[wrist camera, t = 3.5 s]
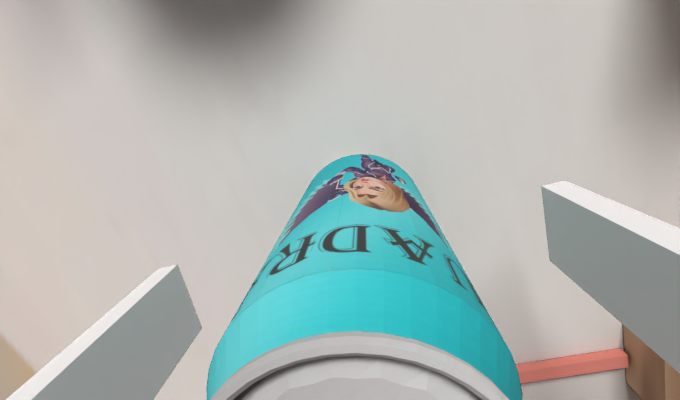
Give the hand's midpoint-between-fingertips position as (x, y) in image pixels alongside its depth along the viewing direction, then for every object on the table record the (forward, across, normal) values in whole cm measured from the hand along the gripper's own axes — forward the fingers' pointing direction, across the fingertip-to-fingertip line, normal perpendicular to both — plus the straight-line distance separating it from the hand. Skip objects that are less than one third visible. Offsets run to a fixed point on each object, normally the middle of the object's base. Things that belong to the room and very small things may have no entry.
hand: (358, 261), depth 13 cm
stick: (+7, +6, -12) cm, 15 cm away
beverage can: (+7, 0, 0) cm, 7 cm away
